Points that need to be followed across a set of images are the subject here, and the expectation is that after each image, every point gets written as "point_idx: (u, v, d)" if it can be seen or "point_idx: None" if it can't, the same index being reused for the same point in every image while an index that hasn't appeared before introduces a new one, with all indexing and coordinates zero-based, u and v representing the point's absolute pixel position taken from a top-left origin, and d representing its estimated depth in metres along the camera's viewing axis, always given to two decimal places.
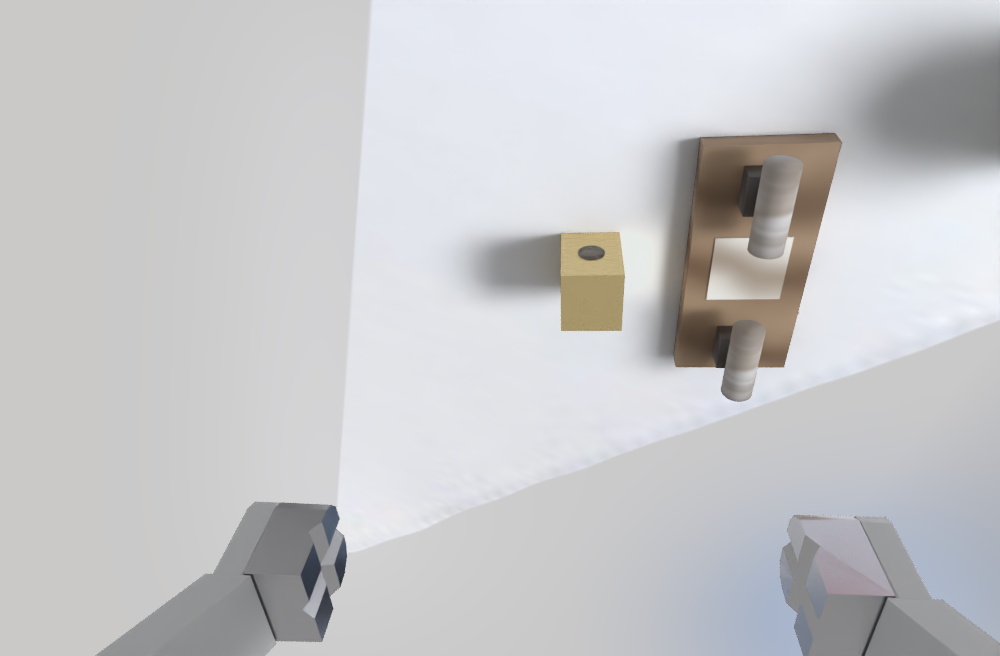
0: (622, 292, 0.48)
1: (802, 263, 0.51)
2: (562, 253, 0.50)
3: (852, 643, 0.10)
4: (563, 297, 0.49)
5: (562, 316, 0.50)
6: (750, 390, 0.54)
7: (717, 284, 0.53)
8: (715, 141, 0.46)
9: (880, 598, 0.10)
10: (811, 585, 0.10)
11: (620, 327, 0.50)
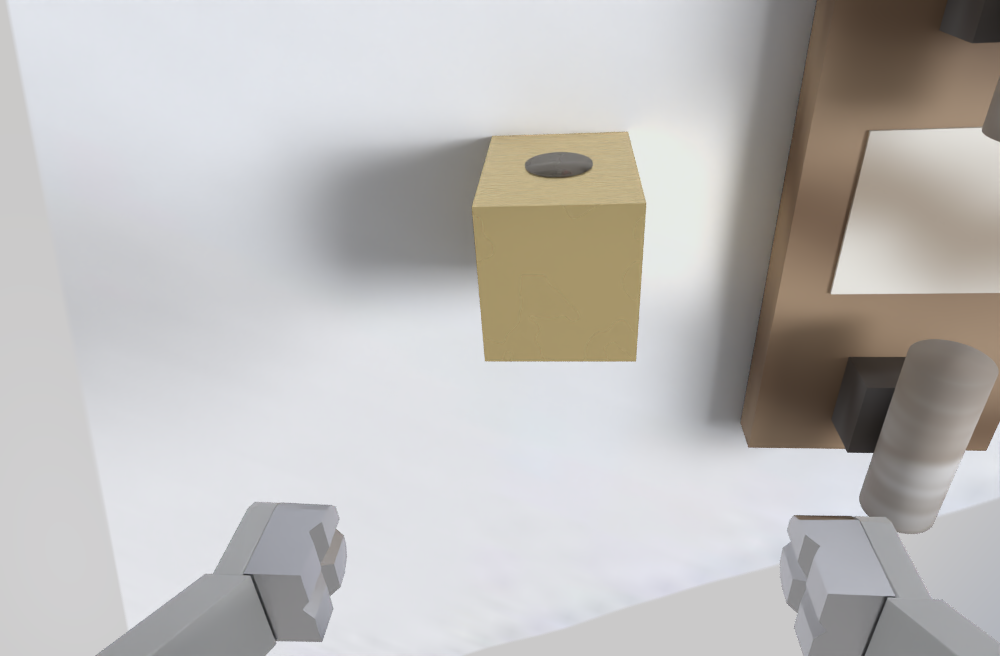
0: (639, 255, 0.18)
1: None
2: (486, 166, 0.20)
3: (852, 643, 0.10)
4: (483, 270, 0.19)
5: (485, 323, 0.20)
6: (938, 508, 0.23)
7: (861, 257, 0.22)
8: None
9: (880, 598, 0.10)
10: (811, 585, 0.10)
11: (633, 353, 0.20)
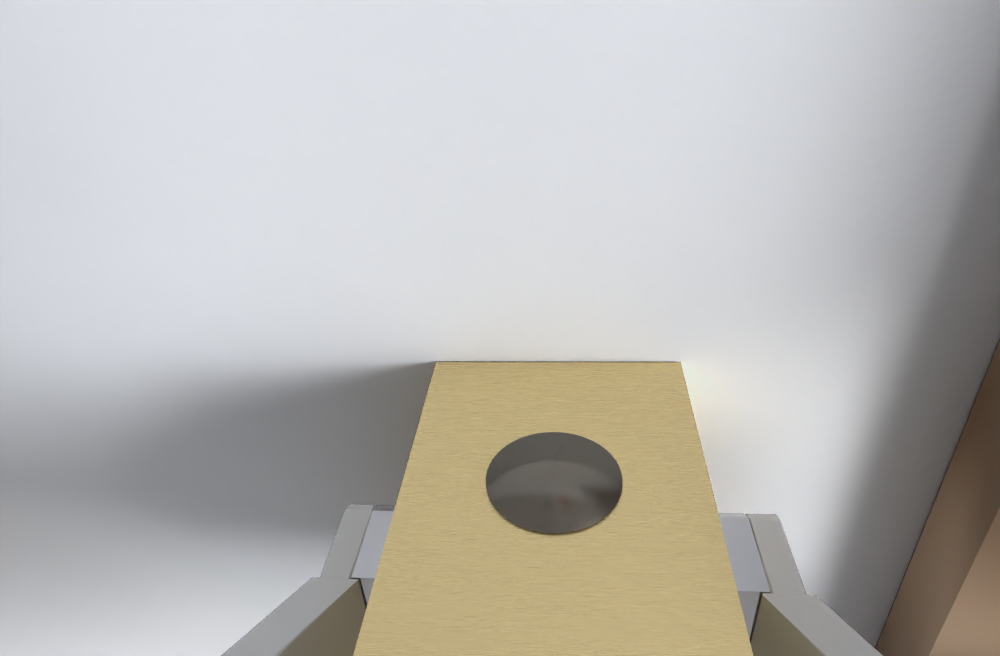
0: None
1: None
2: (410, 477, 0.10)
3: None
4: None
5: None
6: None
7: None
8: None
9: (756, 594, 0.10)
10: None
11: None
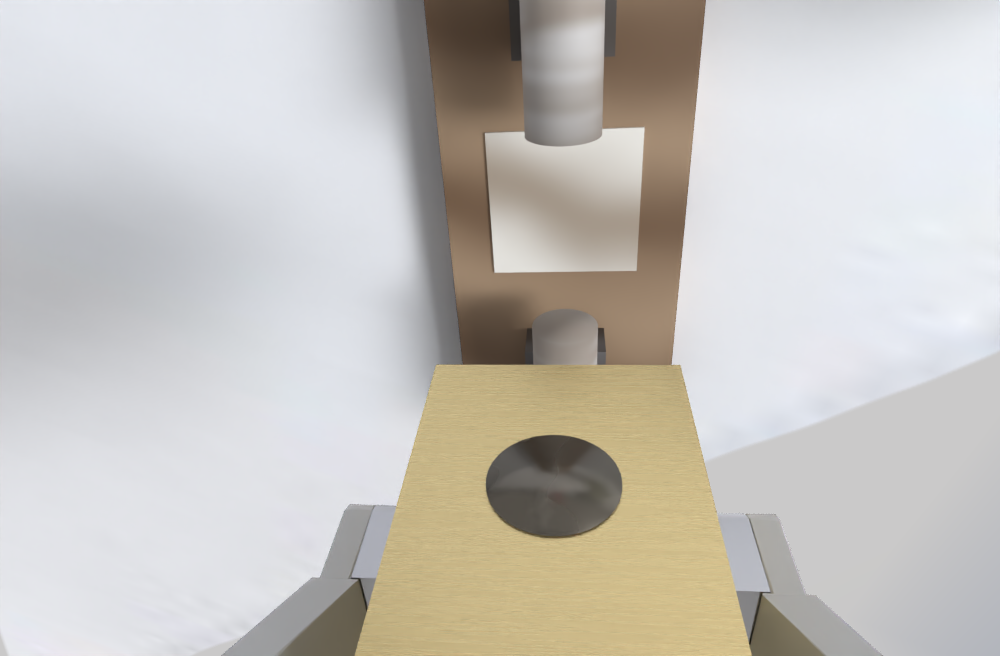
0: None
1: (671, 189, 0.25)
2: (410, 480, 0.10)
3: None
4: None
5: None
6: None
7: (511, 240, 0.26)
8: None
9: (756, 594, 0.10)
10: None
11: None
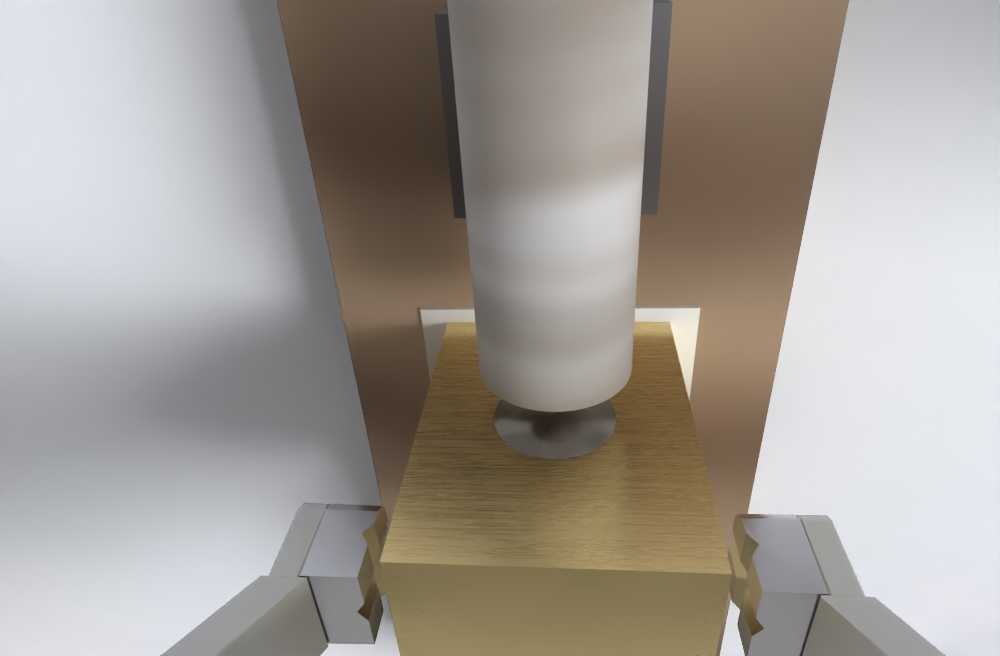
0: (711, 645, 0.09)
1: (742, 399, 0.14)
2: (427, 416, 0.11)
3: (790, 640, 0.10)
4: (411, 648, 0.10)
5: None
6: None
7: None
8: None
9: (814, 596, 0.10)
10: (751, 583, 0.11)
11: None
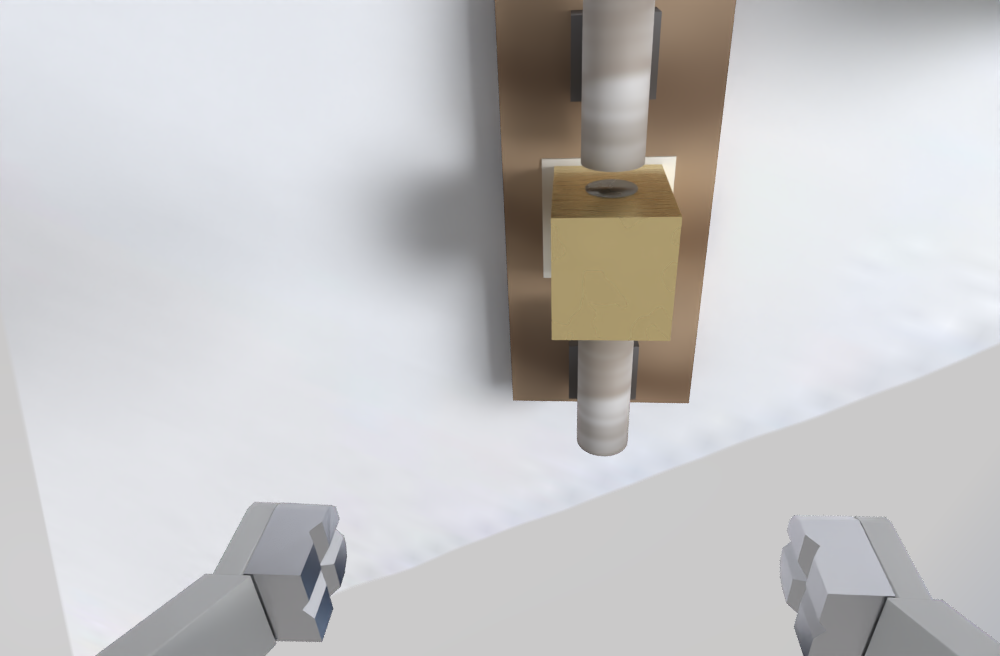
0: (676, 257, 0.24)
1: (698, 208, 0.29)
2: (555, 189, 0.26)
3: (852, 643, 0.10)
4: (556, 267, 0.24)
5: (554, 309, 0.25)
6: (621, 436, 0.31)
7: None
8: None
9: (880, 598, 0.10)
10: (811, 585, 0.10)
11: (668, 334, 0.26)
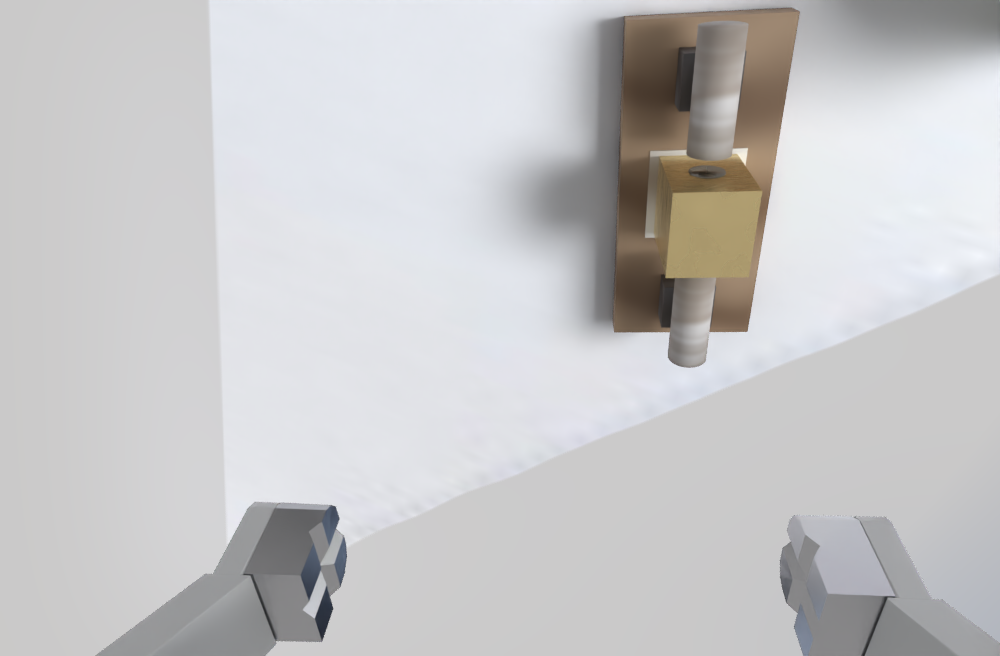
0: (756, 218, 0.35)
1: (761, 185, 0.41)
2: (667, 173, 0.37)
3: (852, 643, 0.10)
4: (673, 226, 0.36)
5: (669, 256, 0.37)
6: (703, 352, 0.43)
7: None
8: (641, 17, 0.37)
9: (880, 598, 0.10)
10: (811, 584, 0.11)
11: (747, 272, 0.37)
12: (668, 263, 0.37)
